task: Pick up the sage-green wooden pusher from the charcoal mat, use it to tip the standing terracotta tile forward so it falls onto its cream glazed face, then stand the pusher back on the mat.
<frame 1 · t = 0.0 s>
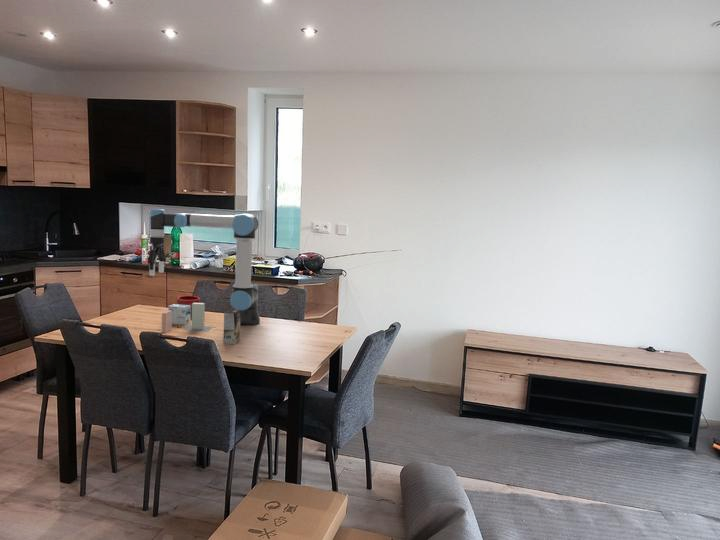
hand: (156, 274, 310), 28 cm above the table, tool pointing down, fingers open, 13 cm apart
pusher tool: (197, 328, 303), point 1 cm above the table, touching tool mat
tool mat: (197, 329, 303), on the table
plant pot: (188, 317, 332), on the table
coffee box: (231, 342, 281), on the table
light bulb box: (179, 324, 314), on the table
tile: (166, 331, 294), on the table
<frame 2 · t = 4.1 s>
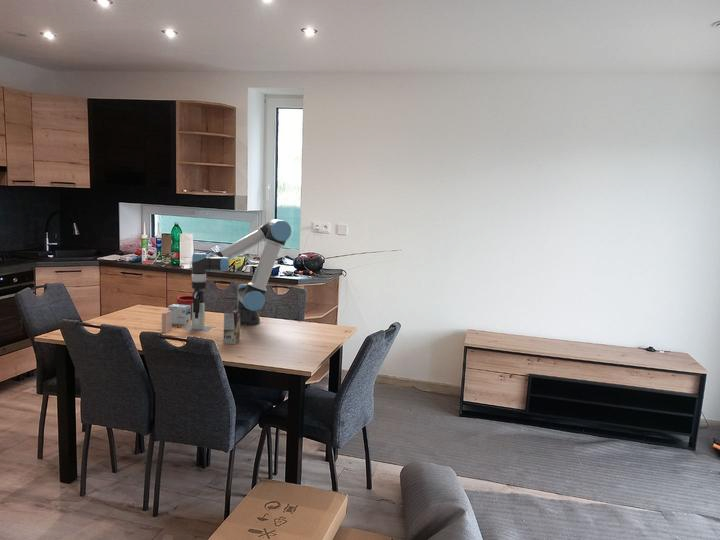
hand: (198, 323, 302), 4 cm above the table, tool pointing down, fingers closed on pusher tool, 3 cm apart
pusher tool: (198, 328, 303), point 1 cm above the table, touching gripper, tool mat
everything else where it was.
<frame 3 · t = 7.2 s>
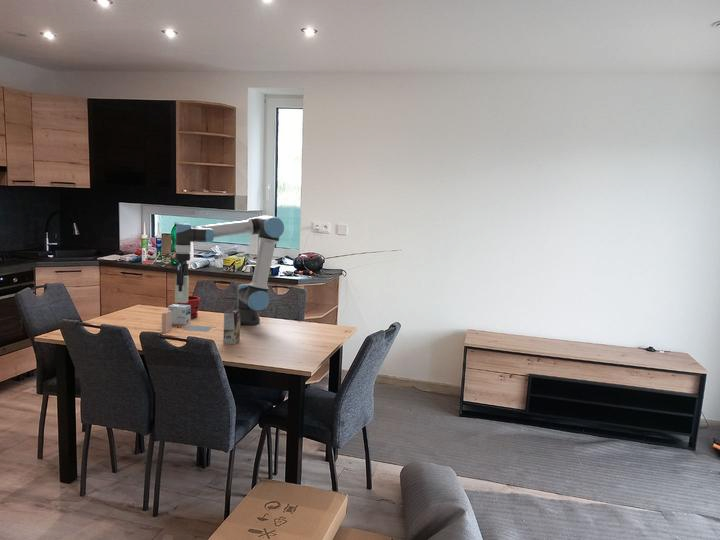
hand: (181, 296, 291), 20 cm above the table, tool pointing down, fingers closed on pusher tool, 3 cm apart
pusher tool: (181, 302, 292), point 17 cm above the table, touching gripper
everything else where it was.
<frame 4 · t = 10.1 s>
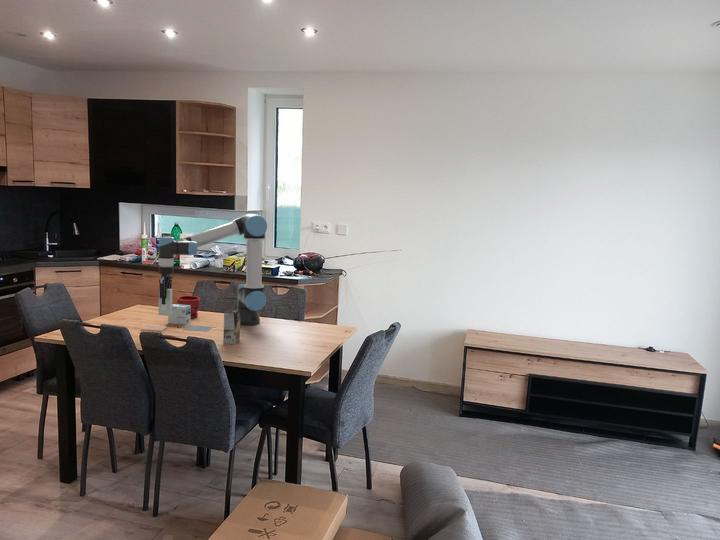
hand: (165, 309, 292), 12 cm above the table, tool pointing down, fingers closed on pusher tool, 3 cm apart
pusher tool: (165, 314, 293), point 9 cm above the table, touching gripper
tile: (164, 330, 294), point 1 cm above the table, tilted 90°
everything else where it was.
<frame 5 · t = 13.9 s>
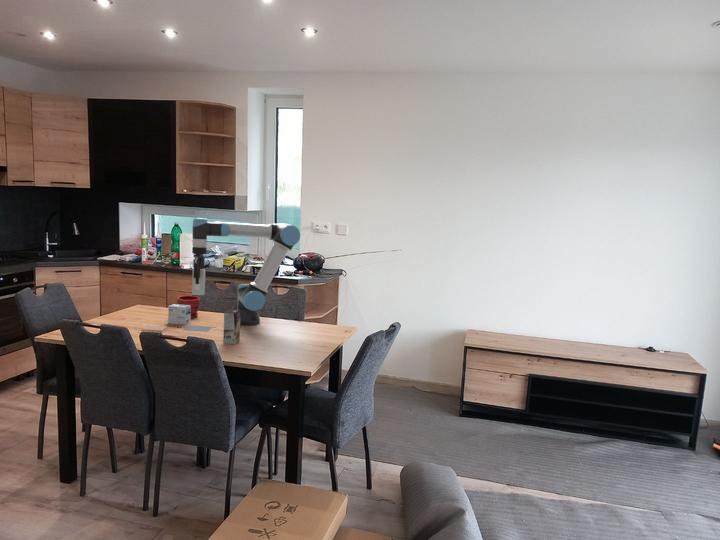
hand: (198, 289, 300), 23 cm above the table, tool pointing down, fingers closed on pusher tool, 3 cm apart
pusher tool: (198, 294, 300), point 20 cm above the table, touching gripper
everything else where it was.
when the fingers open (5 cm above the table, at t = 17.2 s): pusher tool drops 1 cm, resting on tool mat.
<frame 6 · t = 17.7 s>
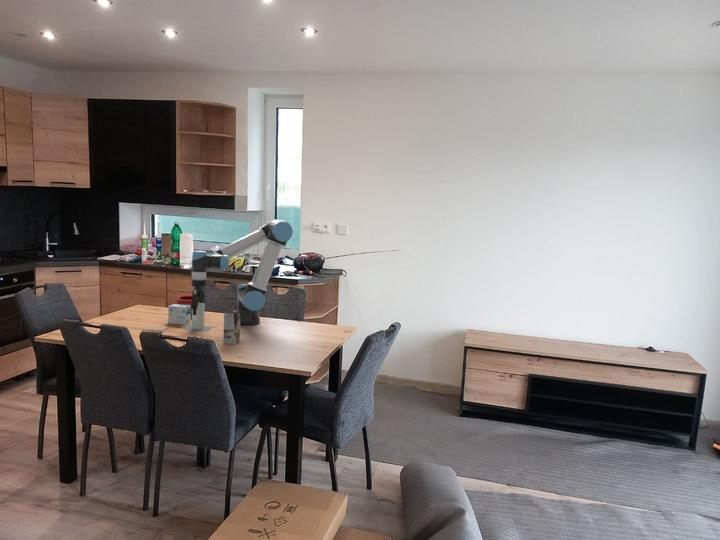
hand: (198, 318, 302), 6 cm above the table, tool pointing down, fingers open, 11 cm apart
pusher tool: (197, 328, 303), point 1 cm above the table, touching tool mat
everything else where it was.
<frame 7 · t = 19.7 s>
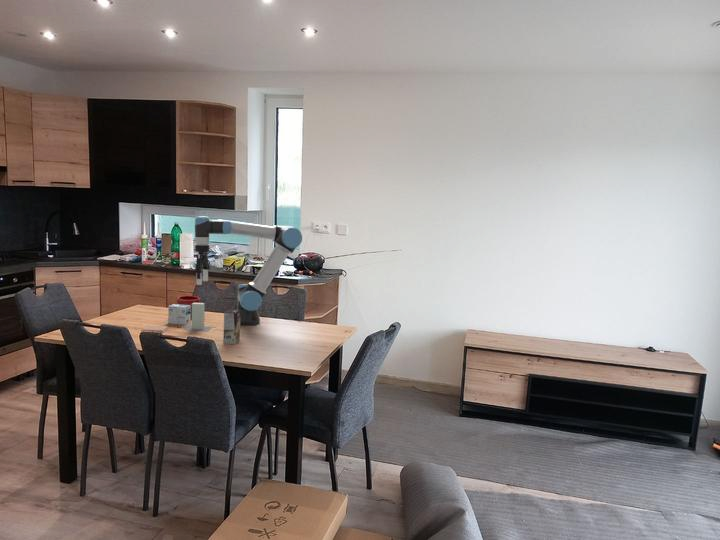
hand: (202, 282, 303), 26 cm above the table, tool pointing down, fingers open, 13 cm apart
nothing on the table moved.
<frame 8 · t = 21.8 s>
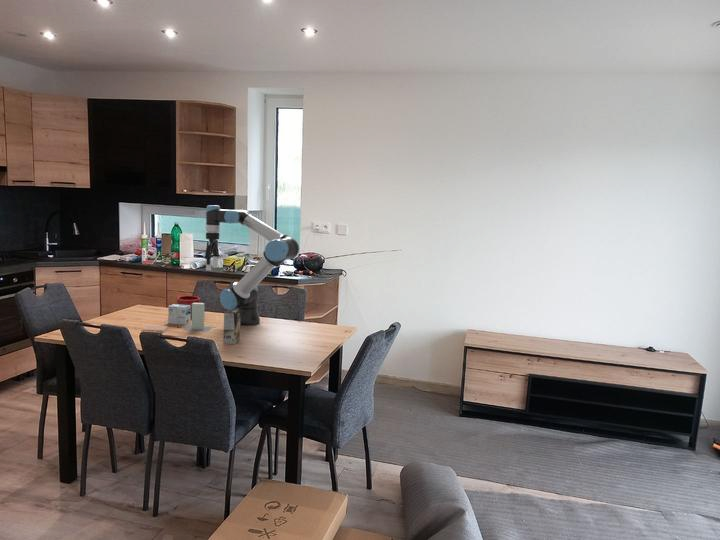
hand: (211, 269, 317), 32 cm above the table, tool pointing down, fingers open, 13 cm apart
nothing on the table moved.
at the end: tile tilted 90°; pusher tool inside the target area (0.1 cm from its centre), point 0.6 cm above the table; the gripper is holding nothing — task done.
